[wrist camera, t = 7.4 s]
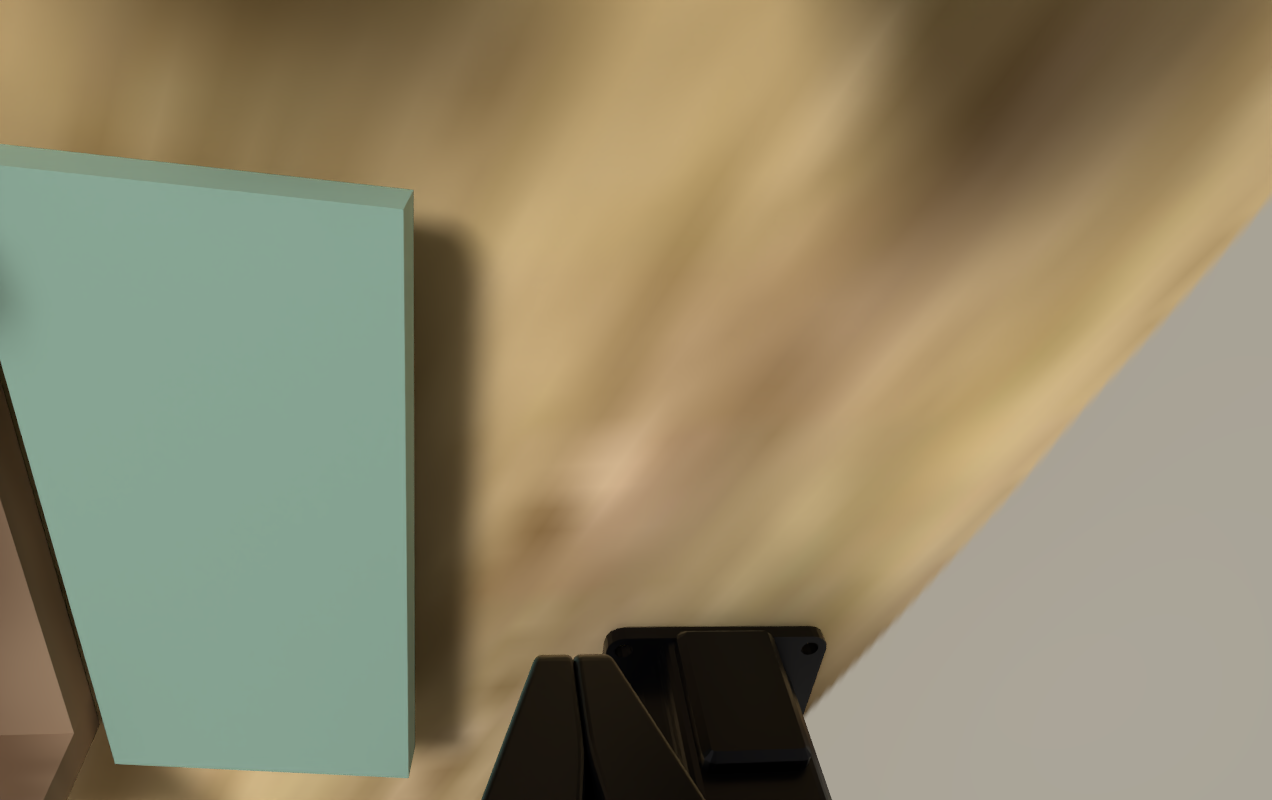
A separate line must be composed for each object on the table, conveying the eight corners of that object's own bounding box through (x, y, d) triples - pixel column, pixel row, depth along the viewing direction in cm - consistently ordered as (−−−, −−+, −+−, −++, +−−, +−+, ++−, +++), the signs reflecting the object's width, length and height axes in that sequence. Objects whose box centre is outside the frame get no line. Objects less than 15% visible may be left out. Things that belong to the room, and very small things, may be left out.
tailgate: (115, 764, 23) (408, 778, 24) (-57, 159, 15) (403, 209, 16) (132, 731, 24) (415, 746, 25) (-22, 141, 16) (413, 190, 16)
